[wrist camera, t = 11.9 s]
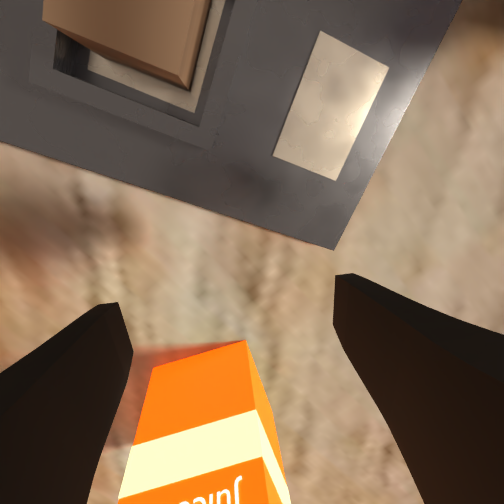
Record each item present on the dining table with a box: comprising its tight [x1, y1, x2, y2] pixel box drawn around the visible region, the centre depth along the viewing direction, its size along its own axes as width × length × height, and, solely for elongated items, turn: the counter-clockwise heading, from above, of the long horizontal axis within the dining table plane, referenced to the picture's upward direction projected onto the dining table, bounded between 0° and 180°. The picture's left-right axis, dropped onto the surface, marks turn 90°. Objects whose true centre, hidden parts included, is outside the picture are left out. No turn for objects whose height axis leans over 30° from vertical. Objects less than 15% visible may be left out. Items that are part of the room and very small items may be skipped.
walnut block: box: [42, 0, 212, 92], centre depth 10 cm, size 4×4×5 cm
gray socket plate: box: [0, 0, 462, 251], centre depth 13 cm, size 22×14×3 cm, turn 69°
